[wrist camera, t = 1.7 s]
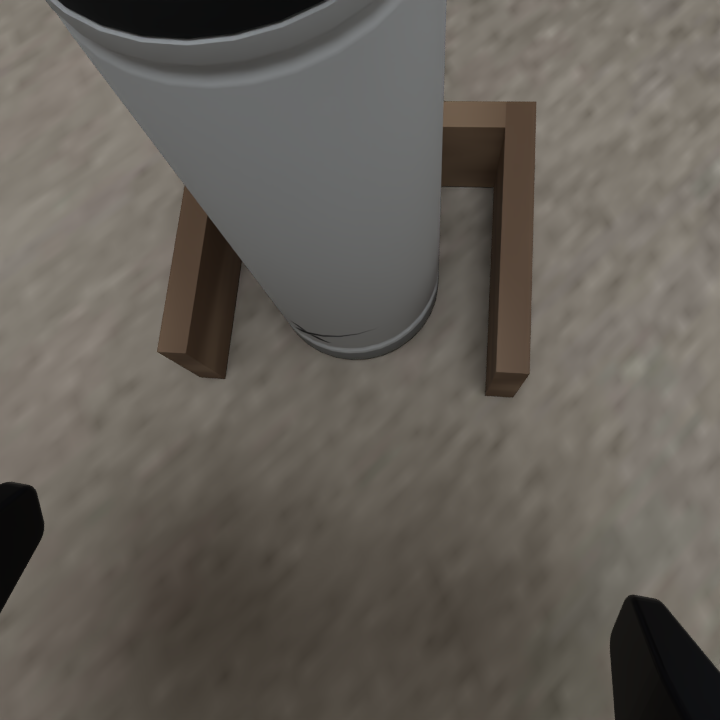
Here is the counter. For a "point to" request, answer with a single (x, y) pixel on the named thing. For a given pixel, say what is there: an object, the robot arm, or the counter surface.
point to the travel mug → (297, 144)
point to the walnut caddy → (459, 168)
